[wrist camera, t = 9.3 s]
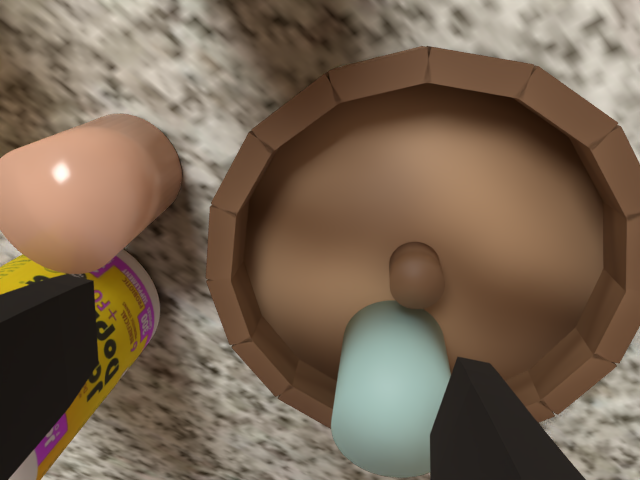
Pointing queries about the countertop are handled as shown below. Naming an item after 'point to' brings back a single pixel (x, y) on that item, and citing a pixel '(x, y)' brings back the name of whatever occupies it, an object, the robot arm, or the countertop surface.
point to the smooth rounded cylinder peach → (86, 191)
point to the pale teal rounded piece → (389, 389)
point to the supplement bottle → (112, 338)
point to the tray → (432, 225)
